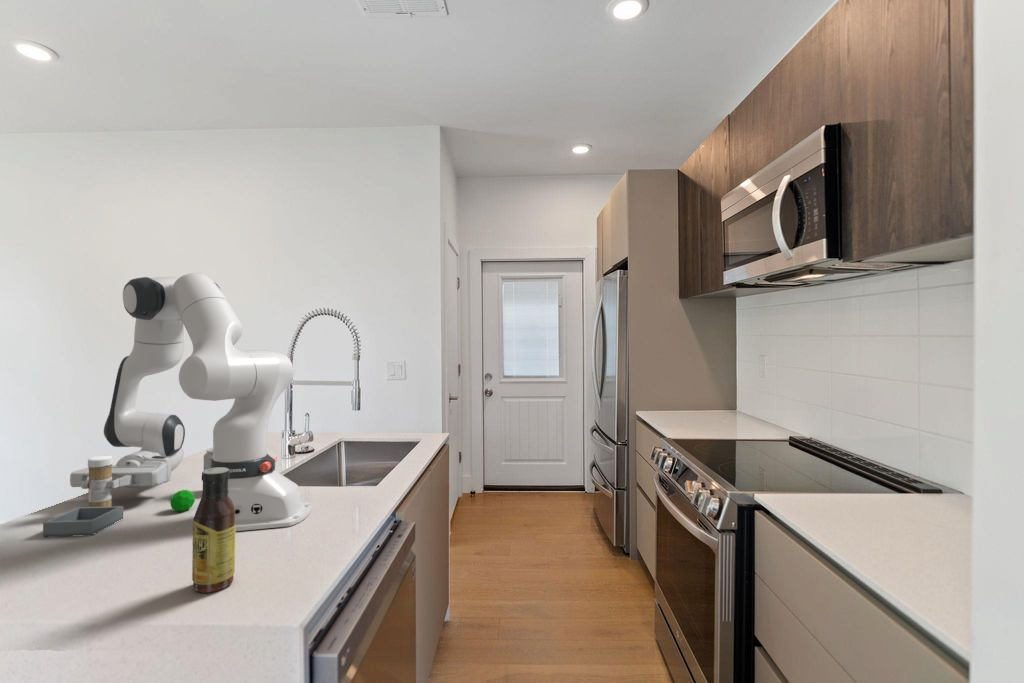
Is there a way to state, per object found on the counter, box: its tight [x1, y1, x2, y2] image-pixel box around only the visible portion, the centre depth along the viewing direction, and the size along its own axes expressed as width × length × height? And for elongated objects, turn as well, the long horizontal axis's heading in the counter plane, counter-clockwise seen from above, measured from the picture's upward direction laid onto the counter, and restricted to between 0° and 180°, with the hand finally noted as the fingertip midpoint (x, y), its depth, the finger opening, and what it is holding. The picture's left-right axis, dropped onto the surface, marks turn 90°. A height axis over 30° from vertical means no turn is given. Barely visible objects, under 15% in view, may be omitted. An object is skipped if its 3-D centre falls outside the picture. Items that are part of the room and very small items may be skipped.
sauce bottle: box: [191, 467, 236, 594], centre depth 85 cm, size 6×6×20 cm
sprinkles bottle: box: [87, 455, 114, 507], centre depth 119 cm, size 5×5×14 cm
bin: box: [42, 505, 124, 537], centre depth 110 cm, size 10×10×3 cm
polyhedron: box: [169, 489, 196, 512], centre depth 121 cm, size 5×5×5 cm
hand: (97, 485), depth 118 cm, fingers closed on sprinkles bottle, 4 cm apart
